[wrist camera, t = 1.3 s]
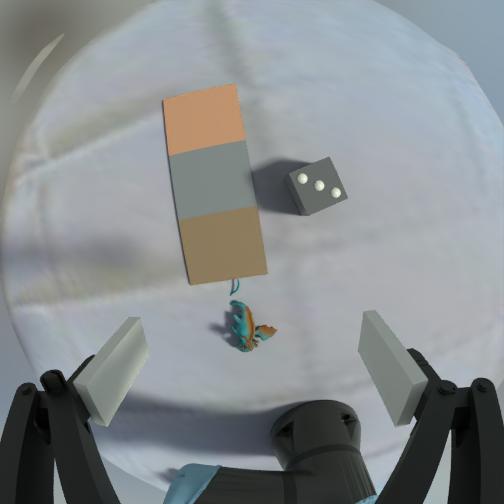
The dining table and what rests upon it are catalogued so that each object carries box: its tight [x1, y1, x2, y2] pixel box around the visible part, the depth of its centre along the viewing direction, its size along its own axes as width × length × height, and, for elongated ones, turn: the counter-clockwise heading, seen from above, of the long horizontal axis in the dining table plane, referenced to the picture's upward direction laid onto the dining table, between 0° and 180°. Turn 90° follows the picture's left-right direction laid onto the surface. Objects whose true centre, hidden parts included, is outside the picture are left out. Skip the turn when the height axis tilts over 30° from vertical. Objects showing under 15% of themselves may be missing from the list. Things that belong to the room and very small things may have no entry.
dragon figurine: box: [230, 280, 277, 352], centre depth 35 cm, size 7×7×8 cm
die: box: [285, 157, 348, 216], centre depth 31 cm, size 5×5×5 cm
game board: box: [163, 84, 268, 285], centre depth 33 cm, size 26×10×1 cm, turn 9°
